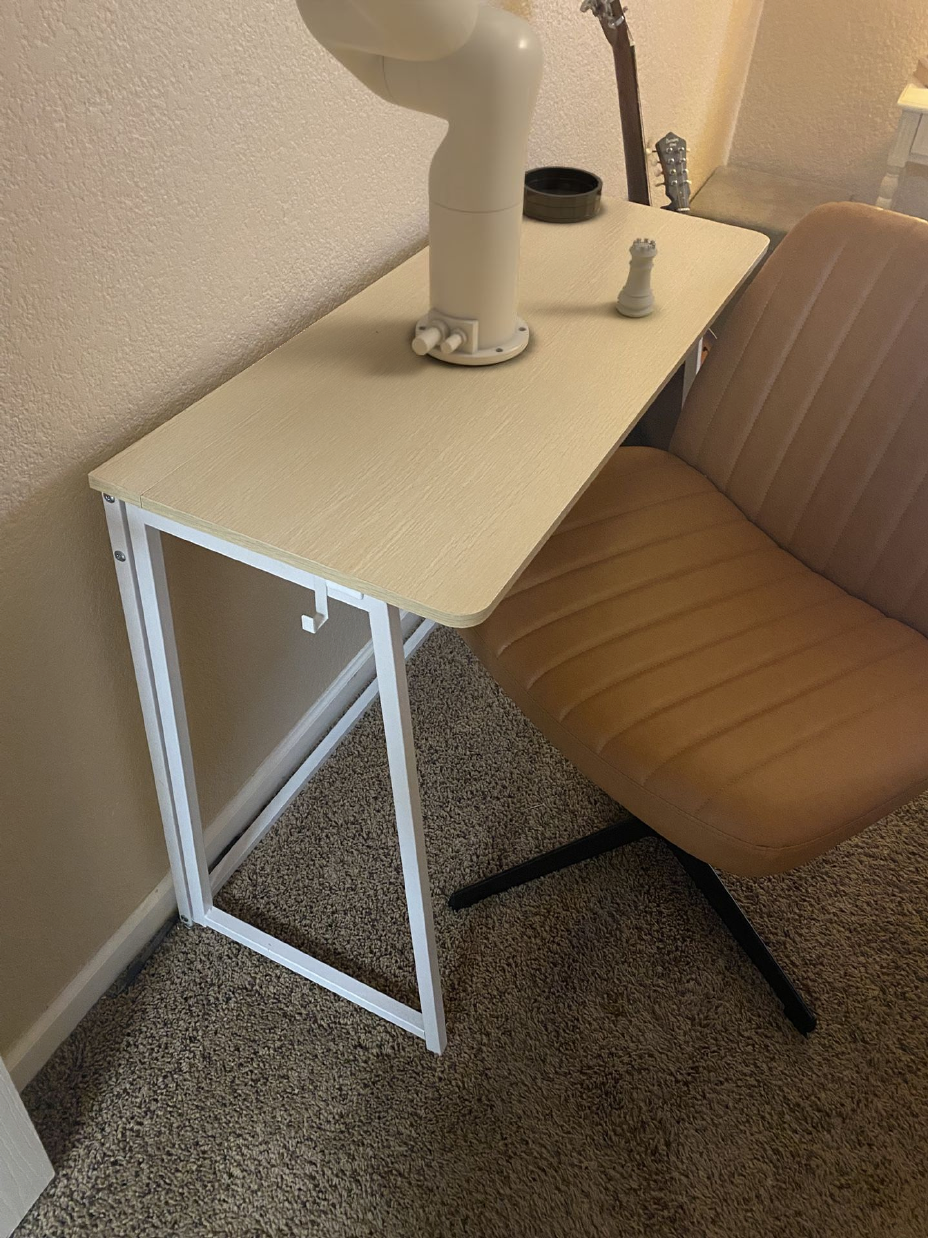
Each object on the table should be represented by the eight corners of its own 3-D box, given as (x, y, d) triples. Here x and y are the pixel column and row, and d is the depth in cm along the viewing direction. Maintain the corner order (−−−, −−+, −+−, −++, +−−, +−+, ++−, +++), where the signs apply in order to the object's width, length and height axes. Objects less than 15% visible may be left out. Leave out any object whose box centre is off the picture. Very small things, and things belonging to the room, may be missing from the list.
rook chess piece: (623, 320, 108) (633, 252, 103) (609, 303, 111) (618, 235, 106) (659, 316, 109) (671, 248, 104) (644, 299, 112) (655, 232, 107)
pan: (579, 229, 127) (582, 202, 124) (503, 211, 131) (504, 185, 128) (612, 201, 134) (615, 175, 132) (539, 185, 138) (541, 160, 136)
